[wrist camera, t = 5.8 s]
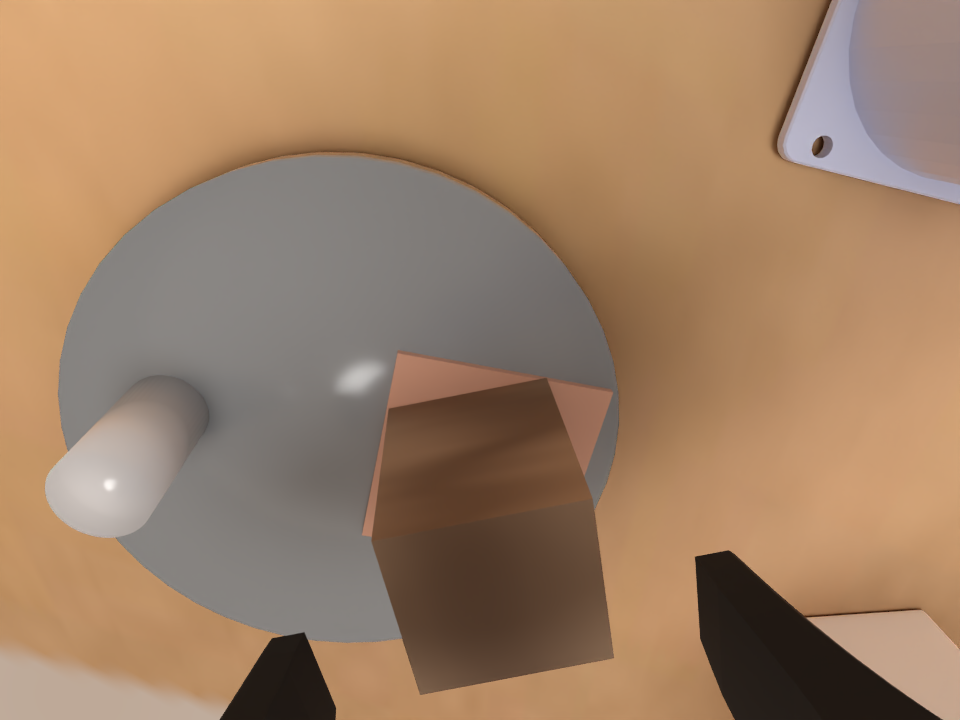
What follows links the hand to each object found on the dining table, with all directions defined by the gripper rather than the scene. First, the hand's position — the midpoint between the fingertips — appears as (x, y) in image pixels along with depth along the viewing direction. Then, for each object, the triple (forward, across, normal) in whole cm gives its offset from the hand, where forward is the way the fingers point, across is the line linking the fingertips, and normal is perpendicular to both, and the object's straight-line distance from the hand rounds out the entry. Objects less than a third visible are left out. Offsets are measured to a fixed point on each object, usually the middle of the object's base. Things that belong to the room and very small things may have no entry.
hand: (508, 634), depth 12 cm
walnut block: (+6, 0, 0) cm, 6 cm away
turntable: (+8, +3, -1) cm, 9 cm away
